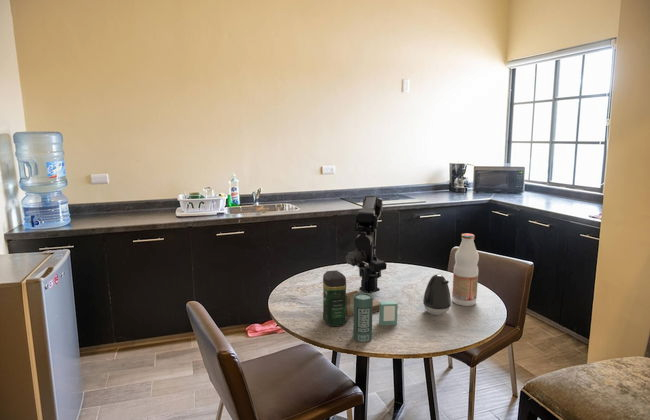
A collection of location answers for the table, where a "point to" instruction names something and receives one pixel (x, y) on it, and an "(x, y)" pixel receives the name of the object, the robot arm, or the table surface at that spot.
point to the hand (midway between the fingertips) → (365, 281)
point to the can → (362, 317)
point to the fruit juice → (465, 272)
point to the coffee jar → (334, 298)
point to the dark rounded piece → (437, 295)
